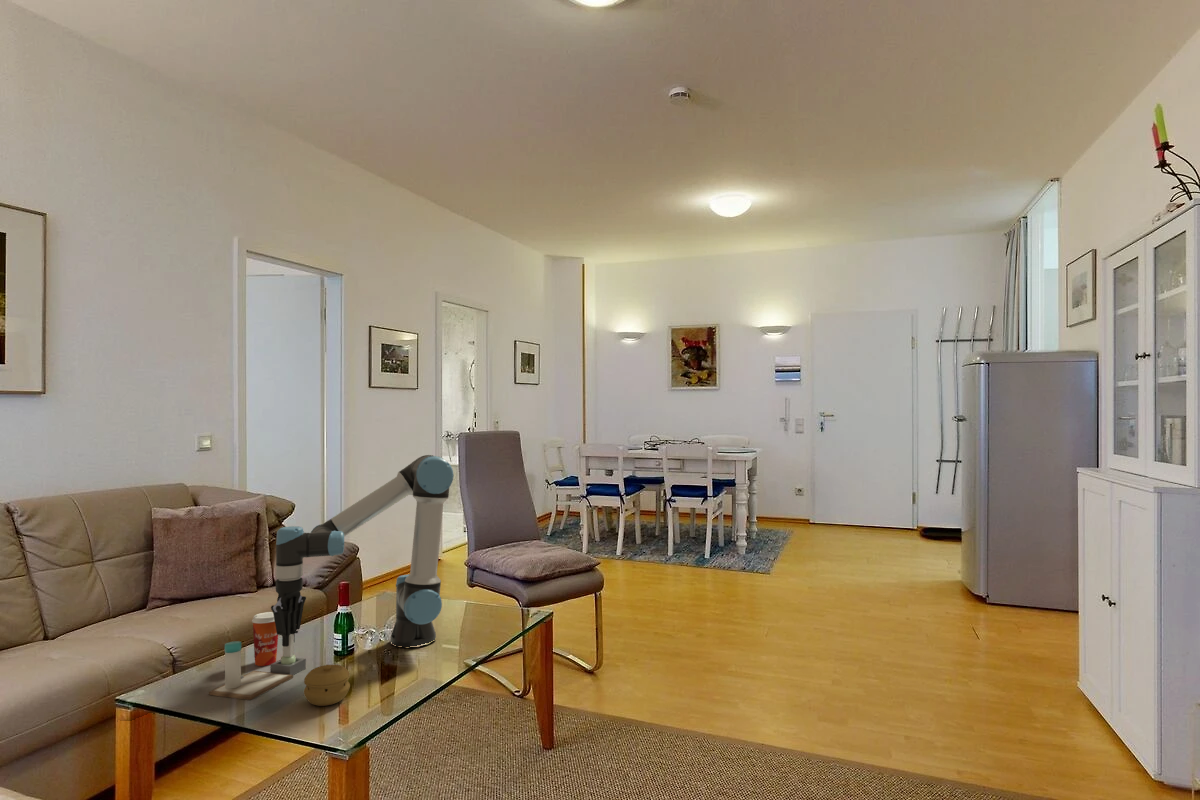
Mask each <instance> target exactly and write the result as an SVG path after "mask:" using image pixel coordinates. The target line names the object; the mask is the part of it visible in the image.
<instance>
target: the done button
mask: <svg viewBox="0 0 1200 800" xmlns="http://www.w3.org/2000/svg"><path fill="white" fill-rule="evenodd" d="M280 658H281V659H280V660H281V664H285V665H290V664H293V663H295V660H296V658H297V657H296V654H294V656H292V657H285V656H283V655H282V656H280Z"/></svg>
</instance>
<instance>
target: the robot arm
mask: <svg viewBox="0 0 1200 800" xmlns="http://www.w3.org/2000/svg"><path fill="white" fill-rule="evenodd" d="M453 480H454V470H453V467H452V465H451V463H449V462H448V461H447V460H446V459H445V458H443V457H441V456H436V455H432V454H426V455H422V456H420V457H417V458H416V459H415V460H414V461H412V462H411V463H410V464H408V465H407V466H405V467H404V468H403V469H401V470H399V471H398V472H397V474H396V476H395V477H393V478H392V479H391V480H389V481H388V482H386V483H384V484H383V485H382V486H380V487H379V488H377V489H375V490H374V491H372V492H370V493H369V494H367V495H366V496H364V497H363V498H361V499H359V500H358V501H356V502H355V503H353V504H352V505H350V506H348V507H347V508H345V509H344V510H342V511H341V512H339V513H338V514H336V515H334V516H332V517H331V518H330V519H328V520H327V521H325V522H324V523H322V524H318V525H316V526H315V527H313V528H312V530H311V531H310V532H305V531H304V528H303V527H302V526H295V525H294V526H293V525H291V526H284V527H280V528H279V529H278V530H277V531H276V540H275V541H276V543H275V566H276V567H275V570H276V571H275V578H276V580H275V592H276V593H277V595H278V596H277V599H276V601H277V602H276V603H275V604H274V605H273V604H272V605H271V606H270V609H271V612H273V614H274V620H275V626H276V632H277V635H278V636H281V637H282V638H281V645H282V656H285V657H292V656H294V655H295V639H296V638H295V635H296V634H299V630H300V628H301V623H302V618H303V610H304V605H305V602H306V600H307V596H302V594H301V591H302V590H303V575H304V573H303V572H304V566H303V565H304V562H303V561H304V558H316V557H317V558H318V557H330V556H331V557H333V556H339V555H343V554H344V551H345V537H346V536H348V535H350V533H352V532H354V531H355V530H357V529H359V528H360V527H361V526H363V525H365V524H366V523H367V522H369V521H371V520H372V519H374V518H375V517H377V516H379V515H381V513H383V512H385V511H386V510H388V509H389V508H391V507H392V506H394V505H395V504H397V503H398V502H401V501H402V500H403V499H404V498H406V497H408V496H412V497H413V498H414V500H416V507H415V508H416V509H415V517H414V529H413V539H412V540H413V541H412V549H411V551H412V552H411V561H410V571H409V573H408V574H404V575H403V574H402V575H399V576H398V577H397V578H396V584H395V588H396V591H395V594H396V595H395V596H396V598H395V600H396V601H395V611H396V612H395V622H394V624H393V628H392V631H391V634H390V643H391V642H392V644H394V645H396V646H402V647H410V646H417V645H421V644H425V643H429V642H431V641H433V640H435V638H436V639H437V633H436V631H435V630H436V629H435V627H434V624H433V621H435V619H436V618H437V617H439V615H440V614H441V610H442V605H443V603H442V597H441V595H440V594H441V583H442V579H440V577H439V576H438V565H439V555H440V554H439V553H440V544H441V543H440V542H441V534H442V532H441V531H442V524H443V523H442V521H443V520H442V519H443V509H444V503H445V502H446V501H447V500H448V499H449V498H450V497H449V495H450V487H451V486H452V483H453ZM435 641H436V640H435Z"/></svg>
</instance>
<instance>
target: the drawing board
mask: <svg viewBox="0 0 1200 800" xmlns="http://www.w3.org/2000/svg"><path fill="white" fill-rule="evenodd" d="M293 678H294V675H288V674H279V673H271V672H269V671H259V670H252V671H250V672H248V673H246V674H244V675H241V686H239V687H237V688H233V689H226V688H225V683H224V684H222V685H220V686H218V687H216V688H214V689H211V690H210V691H208V695H209V696H217V697H224V698H231V699H239V700H247V701H251V700H254V699H256V698H257V697H259V696H261V695H263V694H265V693H267V692H269V691H271V690H272V689H275V688H277V687H278V686H280V685H281V684H284V683H286V682H287V681H289V680H292V679H293Z"/></svg>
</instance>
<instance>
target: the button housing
mask: <svg viewBox="0 0 1200 800" xmlns="http://www.w3.org/2000/svg"><path fill="white" fill-rule="evenodd" d="M306 665H307V659H306V658H303V657H296V660H295V663H293V664H290V665H285V664H281V659H279V660H276V662H274V663H272V664H270V665H269V666H270V668H269V669H270V670H269V671H270V672H271V673H279V674H288V675H293V676H294V675H296V674H297V673H298V674H299V673H300V672H302V671H304V670H306V667H307V666H306Z"/></svg>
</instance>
